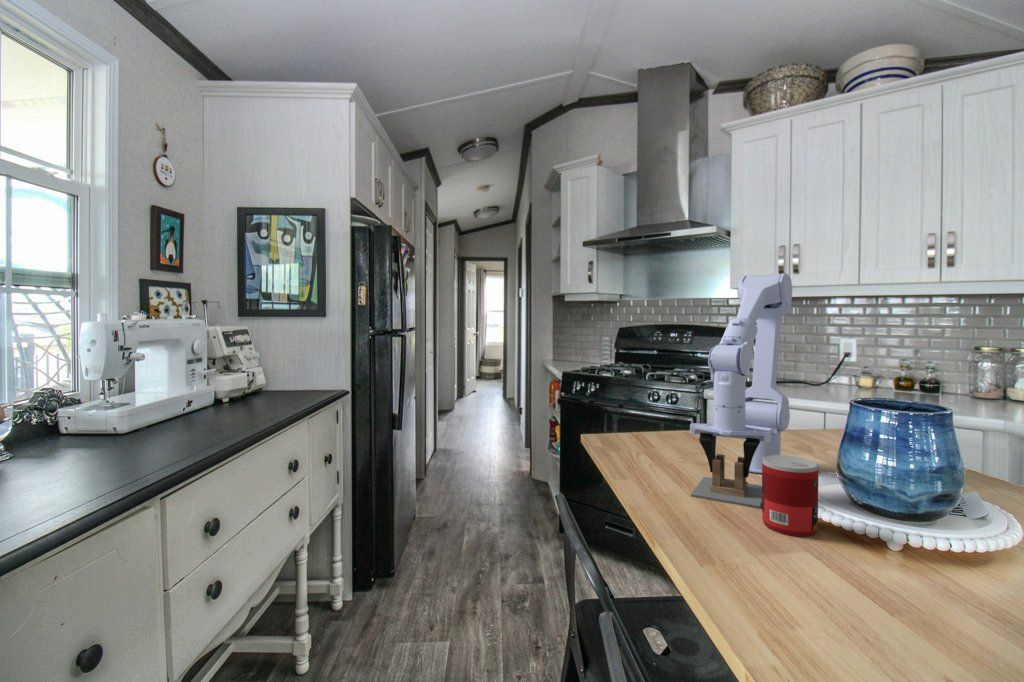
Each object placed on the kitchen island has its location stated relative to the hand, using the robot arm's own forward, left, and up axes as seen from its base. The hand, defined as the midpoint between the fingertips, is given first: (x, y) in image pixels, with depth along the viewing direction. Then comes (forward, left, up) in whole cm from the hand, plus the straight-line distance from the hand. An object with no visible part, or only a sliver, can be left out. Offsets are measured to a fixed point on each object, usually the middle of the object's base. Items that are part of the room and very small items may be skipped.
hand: (729, 473), depth 95 cm
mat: (0, 0, -4) cm, 4 cm away
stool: (0, 0, -3) cm, 3 cm away
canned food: (+12, +11, -4) cm, 17 cm away
